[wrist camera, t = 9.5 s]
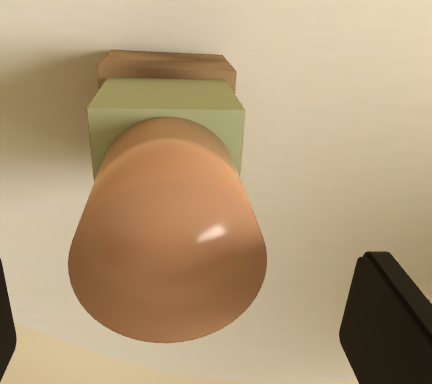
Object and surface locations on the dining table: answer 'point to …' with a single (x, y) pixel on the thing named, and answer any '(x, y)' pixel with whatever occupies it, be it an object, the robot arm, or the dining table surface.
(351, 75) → the dining table surface
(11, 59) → the dining table surface
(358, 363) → the robot arm
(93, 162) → the sage cube
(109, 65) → the walnut base block
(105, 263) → the tan rounded knob
